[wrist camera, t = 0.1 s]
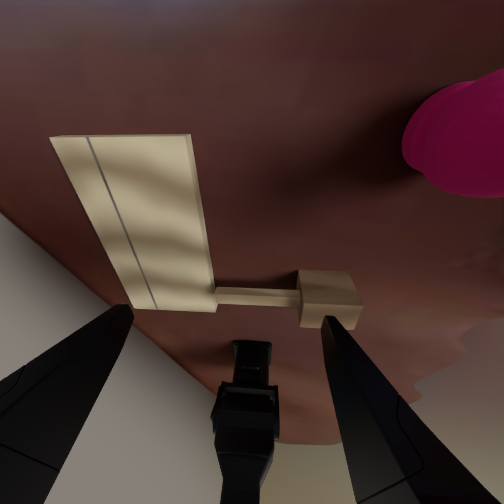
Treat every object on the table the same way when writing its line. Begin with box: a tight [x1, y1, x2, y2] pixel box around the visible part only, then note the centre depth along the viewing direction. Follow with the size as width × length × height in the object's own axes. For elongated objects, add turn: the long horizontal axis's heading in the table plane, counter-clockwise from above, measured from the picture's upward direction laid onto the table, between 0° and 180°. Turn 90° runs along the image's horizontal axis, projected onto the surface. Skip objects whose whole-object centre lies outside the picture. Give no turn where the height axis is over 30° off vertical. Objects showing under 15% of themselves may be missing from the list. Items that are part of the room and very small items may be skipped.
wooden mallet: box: [215, 270, 364, 330], centre depth 26 cm, size 4×16×6 cm, turn 91°
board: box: [49, 134, 218, 312], centre depth 25 cm, size 22×12×2 cm, turn 1°
